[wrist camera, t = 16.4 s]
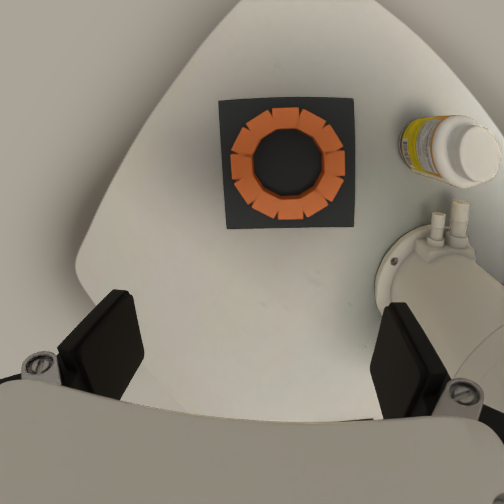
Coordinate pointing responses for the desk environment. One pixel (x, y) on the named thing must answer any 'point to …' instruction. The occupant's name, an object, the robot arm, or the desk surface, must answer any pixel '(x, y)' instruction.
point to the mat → (288, 161)
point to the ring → (292, 204)
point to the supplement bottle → (450, 150)
